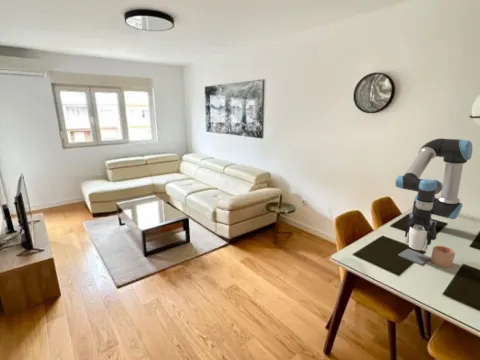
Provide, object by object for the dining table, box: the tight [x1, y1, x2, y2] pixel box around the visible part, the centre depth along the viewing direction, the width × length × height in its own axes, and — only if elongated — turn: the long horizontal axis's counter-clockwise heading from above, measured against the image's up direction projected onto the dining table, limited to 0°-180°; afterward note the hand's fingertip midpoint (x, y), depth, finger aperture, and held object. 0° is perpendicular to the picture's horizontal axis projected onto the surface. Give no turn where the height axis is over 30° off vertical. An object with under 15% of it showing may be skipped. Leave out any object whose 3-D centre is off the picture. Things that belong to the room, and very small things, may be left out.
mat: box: [397, 248, 431, 266], centre depth 148 cm, size 12×12×1 cm
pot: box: [430, 244, 456, 268], centre depth 142 cm, size 9×9×8 cm
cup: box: [408, 225, 427, 251], centre depth 145 cm, size 9×9×12 cm
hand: (416, 246), depth 146 cm, fingers closed on cup, 9 cm apart
